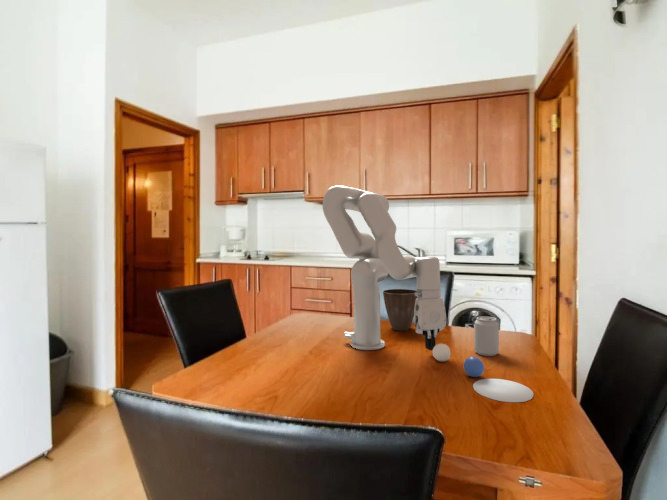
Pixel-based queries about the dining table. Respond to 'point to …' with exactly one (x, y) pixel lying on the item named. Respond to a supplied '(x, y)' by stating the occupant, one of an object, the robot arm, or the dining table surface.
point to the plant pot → (400, 307)
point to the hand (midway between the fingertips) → (430, 349)
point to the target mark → (503, 390)
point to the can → (486, 336)
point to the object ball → (473, 366)
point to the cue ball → (441, 352)
